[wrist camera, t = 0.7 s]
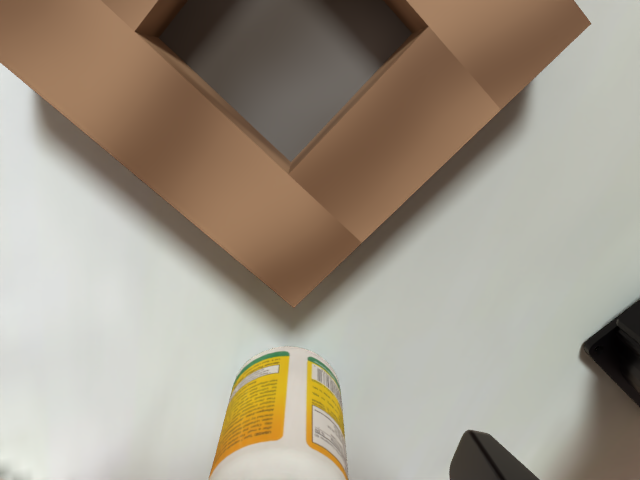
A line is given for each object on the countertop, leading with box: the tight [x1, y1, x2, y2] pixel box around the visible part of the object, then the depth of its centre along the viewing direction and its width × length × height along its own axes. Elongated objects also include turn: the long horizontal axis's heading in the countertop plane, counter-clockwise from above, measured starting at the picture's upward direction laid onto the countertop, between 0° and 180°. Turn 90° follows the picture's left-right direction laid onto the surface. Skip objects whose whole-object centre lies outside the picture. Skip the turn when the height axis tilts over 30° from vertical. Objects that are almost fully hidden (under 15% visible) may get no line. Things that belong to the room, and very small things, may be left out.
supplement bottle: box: [209, 346, 348, 480], centre depth 19 cm, size 5×5×10 cm
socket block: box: [0, 0, 591, 308], centre depth 16 cm, size 14×14×4 cm
